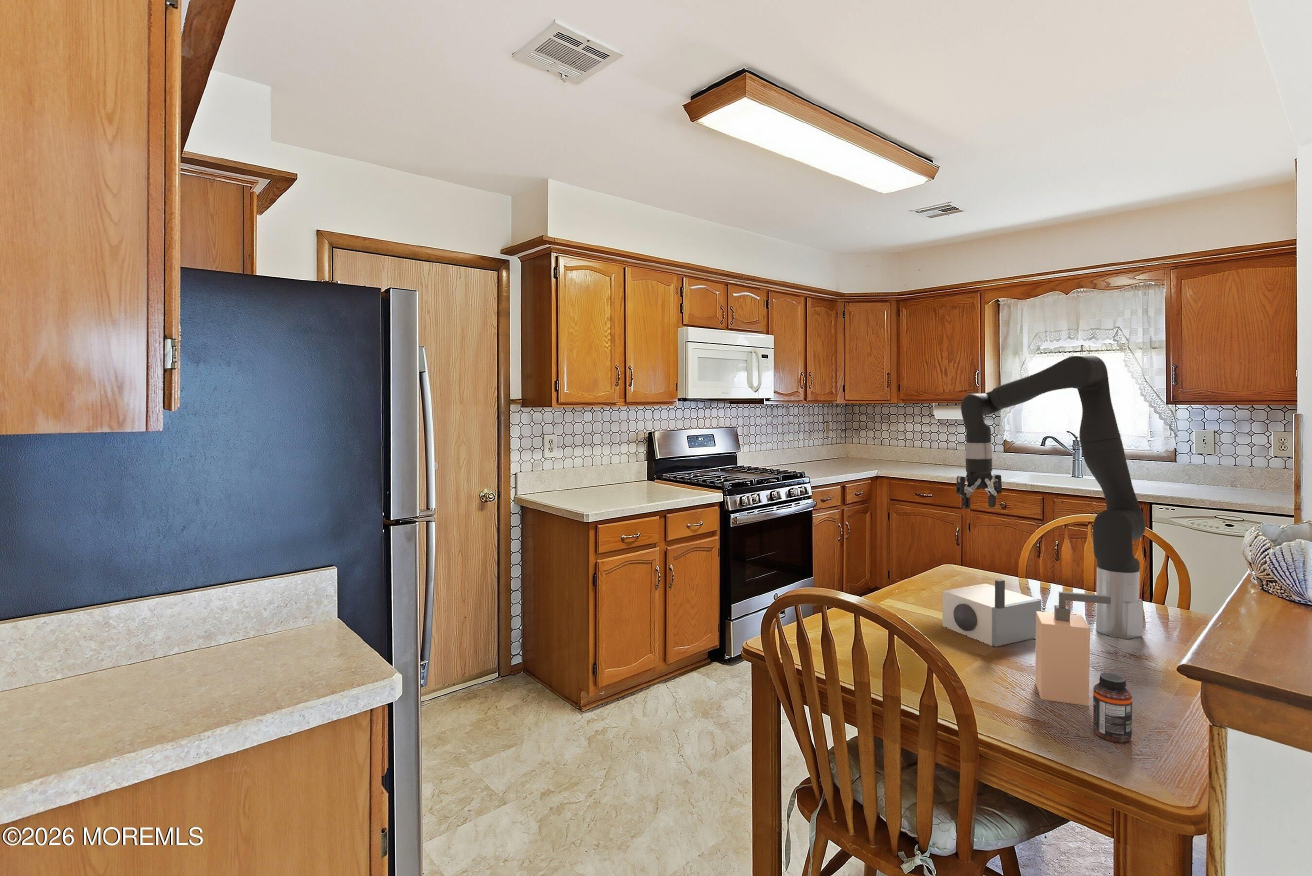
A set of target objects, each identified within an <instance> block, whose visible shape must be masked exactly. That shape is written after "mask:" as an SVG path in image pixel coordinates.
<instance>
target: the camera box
mask: <svg viewBox="0 0 1312 876" xmlns="http://www.w3.org/2000/svg"><path fill="white" fill-rule="evenodd" d="M1034 599H1037V598H1035V597H1032V596H1028V595H1026V594H1022V593H1019V592H1015V591H1012V590H1009V589H1006V588H1005V605H1007V604H1013V603H1018V602H1023V601H1029V600H1034ZM992 607H995V585H992V584H989V583H987V582H986V583H981V584H975V585H970V586H969V585H968V586H963V587H956V588H951V589H945V590H942V627H943V628H946V627H947V628H946V629H948V630H951V631H954V632H956V633H959V634H962V635H964V636H966V635H967V636H966V637H968V638H970V639H974V640H976V639H977V641H978V640H979V642H981V643H983V642H984V644H986V645H988V646H991V647H993V646H994V645H992Z"/></svg>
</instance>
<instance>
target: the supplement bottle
mask: <svg viewBox="0 0 1312 876" xmlns="http://www.w3.org/2000/svg"><path fill="white" fill-rule="evenodd" d="M1092 693H1093V695H1092V697H1093V699H1092V700H1093V701H1092V707H1093V708H1092V729H1093V732H1094V734H1095V735H1097V736H1099V737H1100V738H1101V739H1103V740H1105V741H1109V742H1113V743H1119V744H1121V743H1127V742H1130V741H1131V740H1132V734H1133V694H1132V692H1131V690H1129V689H1128V688H1127V680H1126V678H1125V676H1123V675H1120V674H1117V673H1112V672H1101V673H1100V674H1099V682H1098V683H1096V684H1095V685H1094V686H1093V689H1092Z"/></svg>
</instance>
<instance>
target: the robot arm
mask: <svg viewBox="0 0 1312 876" xmlns="http://www.w3.org/2000/svg"><path fill="white" fill-rule="evenodd" d="M1064 389H1065V390H1066V389H1076V390H1077V392H1078V395H1079V398H1080V402H1081V408H1082V409H1081V410H1082V411H1081V412H1082V413H1081V414H1082V415H1081V420H1080V427H1079V436H1078V438H1079V444H1080V448H1081V452H1082V455H1083V461H1084V462H1085V465H1086V467H1087V468H1088V470H1089V472H1090V473H1091V475H1092V476H1093V477H1094V478H1095V481H1096V482H1097V483H1098V484H1099V486H1100V488H1101V491H1102V493H1103V497H1104V500H1105V505H1106V509H1105V510H1102V511H1099V512H1098V513H1097V515H1096V516H1095V518H1094V519H1093V525H1092V544H1093V555H1094V557H1095V560H1096V595H1108V596H1110V597H1111V604H1101V603H1095V605H1096V606H1095V630H1096V631H1098V632H1099V633H1101V634H1103V635H1107V636H1110V637H1115V638H1120V639H1125V640H1131V639H1135V638H1139V637H1142V636H1143V627H1144V626H1143V621H1144V620H1143V618H1144V612H1143V611H1144V602H1143V599H1141V598H1140V577H1141V576H1140V573H1141V572H1140V569H1141V567H1140V565H1141V563H1140V560H1139V559H1138V558H1137V557H1135V556H1134V552H1133V550H1134V549H1133V542H1134V541H1136V540H1139V539H1141V537H1142V536H1144V534H1145V532H1146V530H1147V529H1146V528H1147V525H1146V519H1145V515H1144V513H1143V511H1142V508H1141V505H1140V503H1139V501H1138V498H1137V495H1136V492H1135V490H1134V486H1133V483H1132V478H1131V474H1130V469H1129V465H1128V463H1127V458H1126V453H1125V449H1124V444H1123V442H1122V441H1123V440H1122V436H1121V433H1120V430H1119V427H1118V422H1117V417H1116V415H1115V411H1114V407H1113V403H1112V397H1111V392H1110V391H1111V389H1110V382H1109V374H1108V368H1107V366H1106V363H1105V362H1104V360H1103V359H1102V358H1100V357H1099V356H1097V355H1094V354H1093V355H1092V354H1073V355H1071V356H1067V357H1065V358H1064V359H1062V360H1060V361H1058V362H1055V364H1053V365H1051V366H1049V367H1047V368H1044V369H1042V370H1041V371H1038V372H1036V373H1033V374H1030V375H1027V376H1025V377H1022V378H1019V379H1015V380H1012V381H1010V382H1006V383H1003V384H1000V385H998V386H996V387H994V388H993V389H992V390H990V391H987V392H984V393H969V394H967V395H965V396H964V397H963V399H962V400H961V404H960V412H961V417H962V421H963V424H964V428H965V430H966V431H965V435H966V436H965V441H966V445H965V472H966V475H965V476H961V475H957V476H956V484H955V485H956V486H955V487H956V488H955V494H956V495H959V496H960V497H962V499H961V500H962V504H961V505H962V508H963V509H965V510H970V509H971V498H970V496H971V495H972V493H973V492H975V490H985V491H986V493H987V494H988V495H987V501H988V502H987V506H988V508H991V509H994V508H995V507H996V505H997V496H998V495H999V494H1000V495H1001V494H1003V483H1002V481H1003V480H1002V475H1001V474H998V473H993V474H992V472H993V449H992V448H993V447H992V429H991V426H990V425H989V424H987V423H985V420H984V416H985V417H986V416H988V415H992V414H995V413H997V412H1000V411H1002V410H1004V409H1007V408H1010V407H1013V406H1017V405H1021V404H1023V403H1026V402H1028V401H1031V400H1033V399H1034V398H1037V397H1039V396H1041V395H1044V394H1046V393H1049V392H1052V391H1057V390H1064ZM991 482H992V483H991ZM965 483H966V485H965Z"/></svg>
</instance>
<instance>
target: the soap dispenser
mask: <svg viewBox="0 0 1312 876" xmlns="http://www.w3.org/2000/svg"><path fill="white" fill-rule="evenodd" d="M1066 601H1069V602H1081V603H1092V604H1096V603H1101V604H1111V597H1110V596H1108V595H1096V594H1095V593H1082V592H1081V593H1080V592H1072V591H1071V592H1070V591H1069V592H1068V591H1058V605H1057V604H1055V605H1054V607H1053V608H1054V609H1053V611H1054V612H1051V611H1049V612H1048V611H1041V612H1040V611H1036V638H1035V671H1034V672H1035V673H1034V674H1035V675H1034V676H1035V681H1034V682H1035V686H1036V690H1037V693H1038V694H1039V698H1040V700H1041V701H1042V700H1043V701H1048V702H1049V701H1050V702H1056V703H1057V702H1058V703H1063V704H1064V703H1065V704H1071V705H1078V706H1079V705H1080V706H1084V707H1085V706H1087V707H1089V706H1090V669H1091V666H1090V665H1091V663H1090V660H1091V659H1090V658H1091V628H1090V626H1089V624H1088V623H1087V621H1086V620H1085V619H1084V617H1083V614H1071V609H1070V608H1069V606H1067V603H1066Z"/></svg>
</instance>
